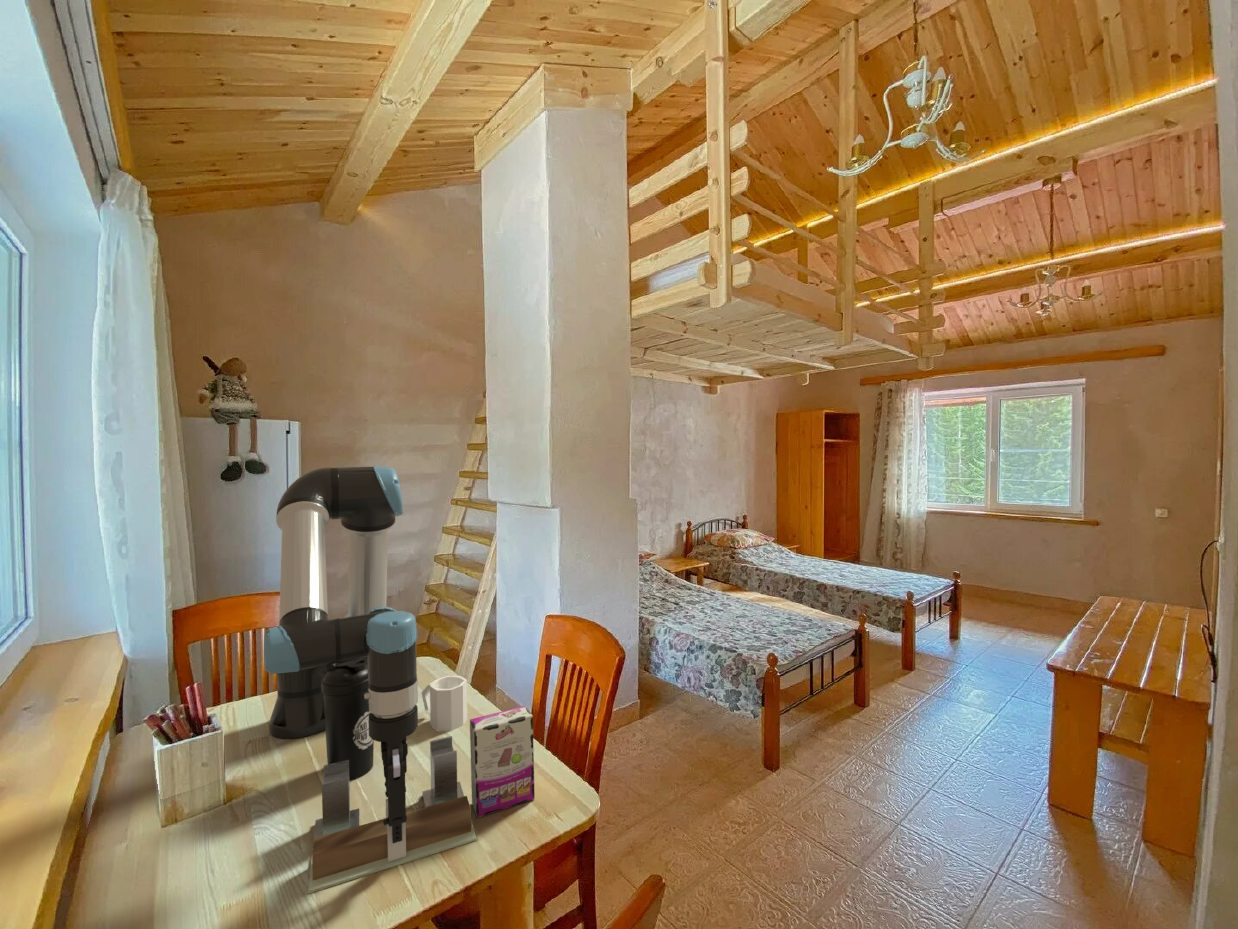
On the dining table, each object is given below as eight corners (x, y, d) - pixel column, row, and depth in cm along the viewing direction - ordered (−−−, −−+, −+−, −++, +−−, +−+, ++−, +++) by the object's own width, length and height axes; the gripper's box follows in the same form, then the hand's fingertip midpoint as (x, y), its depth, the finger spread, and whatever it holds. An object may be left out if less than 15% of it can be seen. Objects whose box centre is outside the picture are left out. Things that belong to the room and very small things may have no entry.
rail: (314, 862, 87) (314, 838, 87) (466, 817, 97) (466, 795, 97) (312, 880, 83) (312, 855, 83) (471, 831, 94) (470, 809, 93)
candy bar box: (527, 785, 107) (526, 704, 106) (535, 800, 103) (534, 715, 102) (469, 803, 102) (468, 717, 101) (475, 819, 97) (474, 730, 97)
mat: (312, 857, 88) (312, 855, 88) (467, 811, 99) (467, 809, 99) (308, 893, 81) (308, 891, 81) (476, 840, 92) (476, 838, 92)
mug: (473, 717, 134) (473, 678, 133) (450, 734, 126) (450, 693, 125) (435, 708, 138) (434, 670, 138) (410, 724, 130) (410, 684, 130)
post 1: (315, 824, 96) (314, 766, 96) (359, 812, 99) (358, 756, 99) (312, 851, 90) (311, 789, 89) (359, 837, 93) (358, 777, 92)
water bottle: (356, 787, 106) (353, 672, 106) (311, 781, 108) (308, 668, 108) (388, 758, 116) (385, 653, 115) (346, 752, 118) (344, 649, 118)
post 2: (422, 795, 104) (421, 741, 104) (459, 785, 107) (459, 733, 107) (426, 818, 98) (425, 760, 97) (466, 806, 101) (465, 751, 100)
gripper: (367, 691, 96) (370, 820, 96) (369, 739, 80) (372, 894, 80) (412, 683, 99) (414, 808, 100) (423, 727, 83) (425, 876, 83)
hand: (396, 846), depth 90 cm, fingers open, 5 cm apart
